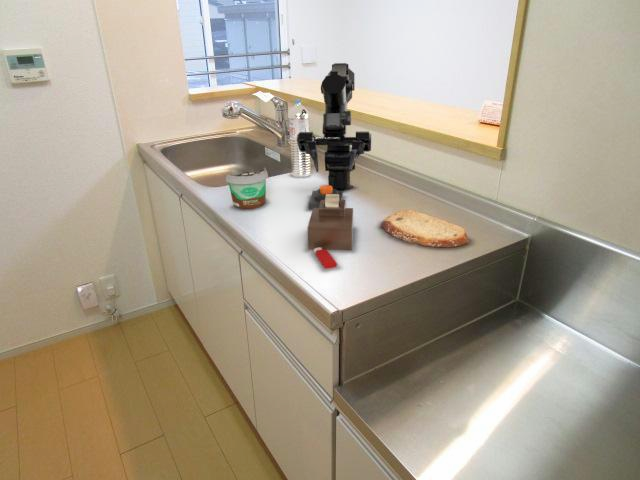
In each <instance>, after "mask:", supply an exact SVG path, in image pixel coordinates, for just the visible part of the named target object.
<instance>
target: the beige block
mask: <svg viewBox="0 0 640 480" xmlns="http://www.w3.org/2000/svg"><path fill="white" fill-rule="evenodd" d="M325 207H339V194H326V197H325Z"/></svg>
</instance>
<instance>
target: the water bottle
mask: <svg viewBox="0 0 640 480" xmlns="http://www.w3.org/2000/svg"><path fill="white" fill-rule="evenodd" d="M301 101H302V100H301V99H298V98H297V99H294V103H295V104H294V105H292V107H291V108H290V109H289V111H288V113H287V118H288V129H289V130H288V131H289V139H288V140H289V153H290V171H291V176H292V177H295V178H306V177H309V176H310V175H311V174H312V158H311V156H310V154H306V152H301V151H299V147H298V143H297V135H298V134H299V132H310V113H309V111H308V109H307V108H306V106H304V105H302V104H301V103H302V102H301Z"/></svg>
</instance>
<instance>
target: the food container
mask: <svg viewBox="0 0 640 480" xmlns="http://www.w3.org/2000/svg"><path fill="white" fill-rule="evenodd" d="M268 178H269V174H268V171H267V168H266V167H263V170H258V171H246V172H243V173H239V174H236V175H231V174H228V173H226V176H225V182H226V183H228V187H229V192H230V195H231V200H232V205H233V207H234V208H235V209H237V210H244V211H245V210H246V211H248V210H249V211H250V210H255V209H258V208H261V207H263V206H265V205H266V195H267V194H266V193H267V191H266V188H267V185H266V184H267V179H268Z"/></svg>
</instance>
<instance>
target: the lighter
mask: <svg viewBox="0 0 640 480" xmlns="http://www.w3.org/2000/svg"><path fill="white" fill-rule="evenodd" d="M313 253H314V255H315V256H316V257H317V259H318V260H319V262H320V263H321V265H322V266H323V268H324V269H332V268H337V266H338V264H337V262H336V260H335V259H334V257H332V255H331V254H330V252H329V250H326V249H325V248H320V247H319V248H315V249H314V250H313Z"/></svg>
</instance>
